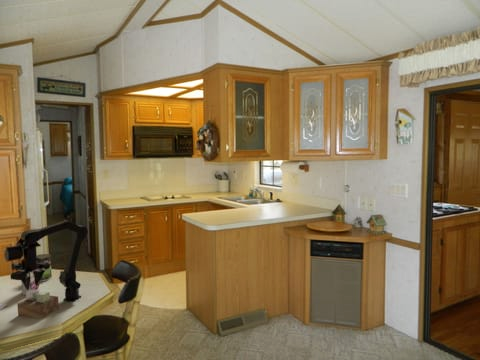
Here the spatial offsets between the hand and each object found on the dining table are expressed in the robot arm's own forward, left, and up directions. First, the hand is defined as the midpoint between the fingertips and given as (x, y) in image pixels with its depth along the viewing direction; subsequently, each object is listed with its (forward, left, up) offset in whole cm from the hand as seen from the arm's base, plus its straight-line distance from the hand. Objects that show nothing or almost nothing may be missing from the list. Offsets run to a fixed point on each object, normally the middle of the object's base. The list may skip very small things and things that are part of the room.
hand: (32, 287), depth 185 cm
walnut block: (0, +3, -12) cm, 12 cm away
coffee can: (-38, -31, -12) cm, 50 cm away
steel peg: (0, 0, -8) cm, 8 cm away
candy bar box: (-20, -22, -12) cm, 32 cm away
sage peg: (0, +6, -8) cm, 10 cm away
